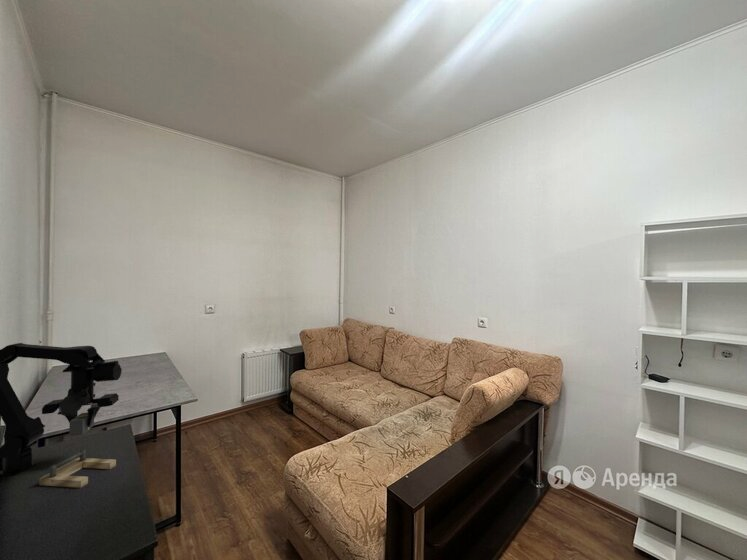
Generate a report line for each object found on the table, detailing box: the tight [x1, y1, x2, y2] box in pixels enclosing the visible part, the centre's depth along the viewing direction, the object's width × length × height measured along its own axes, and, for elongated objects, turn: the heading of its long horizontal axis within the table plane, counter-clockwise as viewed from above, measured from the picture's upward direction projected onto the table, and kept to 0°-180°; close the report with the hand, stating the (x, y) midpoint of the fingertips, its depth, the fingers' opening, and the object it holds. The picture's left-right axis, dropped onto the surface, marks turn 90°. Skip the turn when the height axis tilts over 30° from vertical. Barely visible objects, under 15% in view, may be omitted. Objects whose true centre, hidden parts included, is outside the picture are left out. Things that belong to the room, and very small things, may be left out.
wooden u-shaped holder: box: [38, 449, 117, 489], centre depth 95 cm, size 14×11×5 cm
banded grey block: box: [68, 411, 95, 437], centre depth 103 cm, size 4×7×5 cm, turn 20°
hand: (82, 427), depth 103 cm, fingers closed on banded grey block, 4 cm apart
